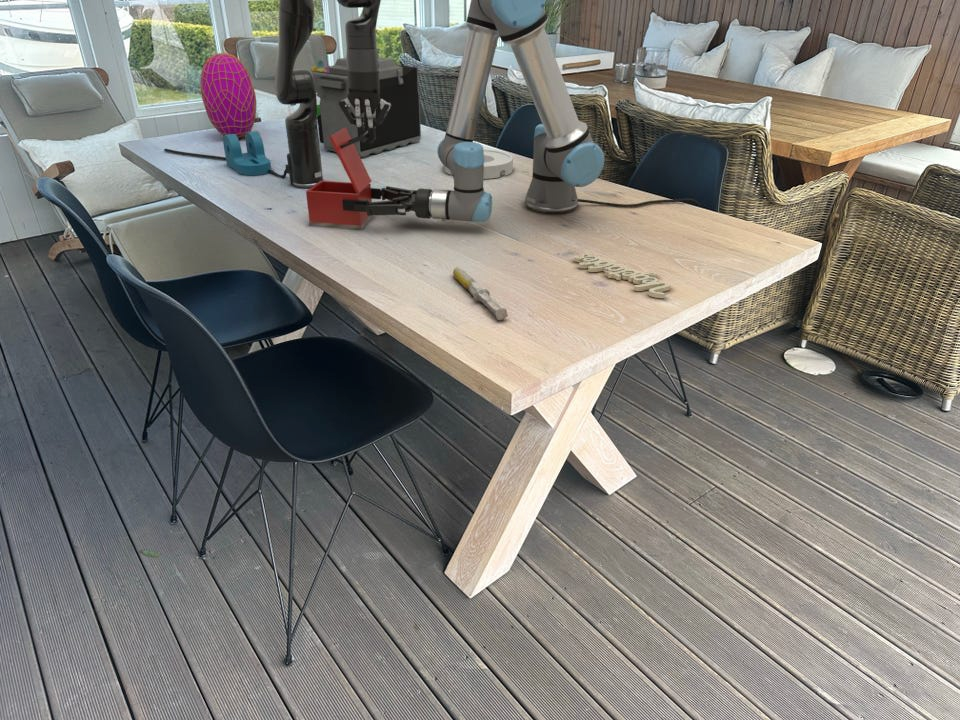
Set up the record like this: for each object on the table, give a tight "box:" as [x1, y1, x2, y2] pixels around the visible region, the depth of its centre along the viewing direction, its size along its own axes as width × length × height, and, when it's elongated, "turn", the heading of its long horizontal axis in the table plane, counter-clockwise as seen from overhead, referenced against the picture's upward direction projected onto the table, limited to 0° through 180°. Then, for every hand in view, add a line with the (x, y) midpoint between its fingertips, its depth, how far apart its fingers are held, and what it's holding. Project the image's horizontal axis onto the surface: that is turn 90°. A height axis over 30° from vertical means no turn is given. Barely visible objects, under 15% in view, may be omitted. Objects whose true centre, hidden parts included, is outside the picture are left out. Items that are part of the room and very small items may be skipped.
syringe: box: [452, 266, 509, 321], centre depth 145 cm, size 25×4×3 cm, turn 21°
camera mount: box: [222, 131, 272, 176], centre depth 226 cm, size 18×10×10 cm, turn 35°
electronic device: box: [310, 57, 422, 159], centre depth 250 cm, size 37×22×30 cm, turn 144°
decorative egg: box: [200, 52, 257, 139], centre depth 259 cm, size 19×19×30 cm
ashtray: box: [443, 148, 514, 180], centre depth 230 cm, size 23×23×4 cm
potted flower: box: [310, 59, 332, 117], centre depth 287 cm, size 9×8×25 cm
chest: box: [305, 180, 374, 230], centre depth 183 cm, size 14×10×9 cm
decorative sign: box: [574, 252, 671, 299], centre depth 155 cm, size 26×1×10 cm
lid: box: [329, 127, 373, 193], centre depth 175 cm, size 15×10×8 cm
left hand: (367, 141), depth 173 cm, fingers closed
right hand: (350, 198), depth 182 cm, fingers closed on chest, 10 cm apart
